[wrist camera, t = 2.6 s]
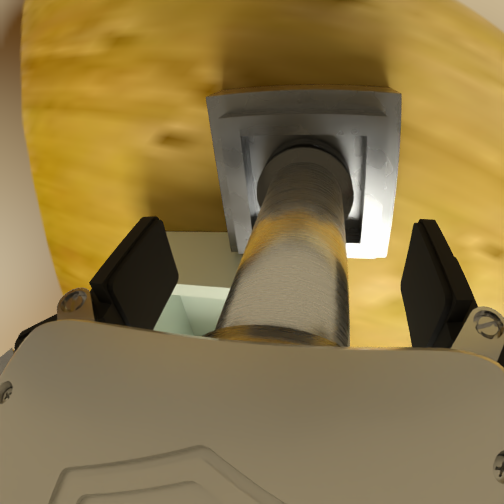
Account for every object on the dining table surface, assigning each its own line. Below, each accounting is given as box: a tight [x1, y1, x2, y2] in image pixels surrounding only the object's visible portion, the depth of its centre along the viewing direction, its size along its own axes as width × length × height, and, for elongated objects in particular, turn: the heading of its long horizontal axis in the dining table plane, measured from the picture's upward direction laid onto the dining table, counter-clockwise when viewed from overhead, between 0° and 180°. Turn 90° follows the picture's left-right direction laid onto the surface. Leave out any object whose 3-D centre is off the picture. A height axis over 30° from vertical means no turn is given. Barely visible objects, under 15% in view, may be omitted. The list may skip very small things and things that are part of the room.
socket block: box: [206, 84, 401, 259], centre depth 17 cm, size 10×10×4 cm
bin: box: [153, 231, 243, 336], centre depth 25 cm, size 13×13×6 cm
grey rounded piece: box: [202, 138, 354, 347], centre depth 11 cm, size 5×5×13 cm
